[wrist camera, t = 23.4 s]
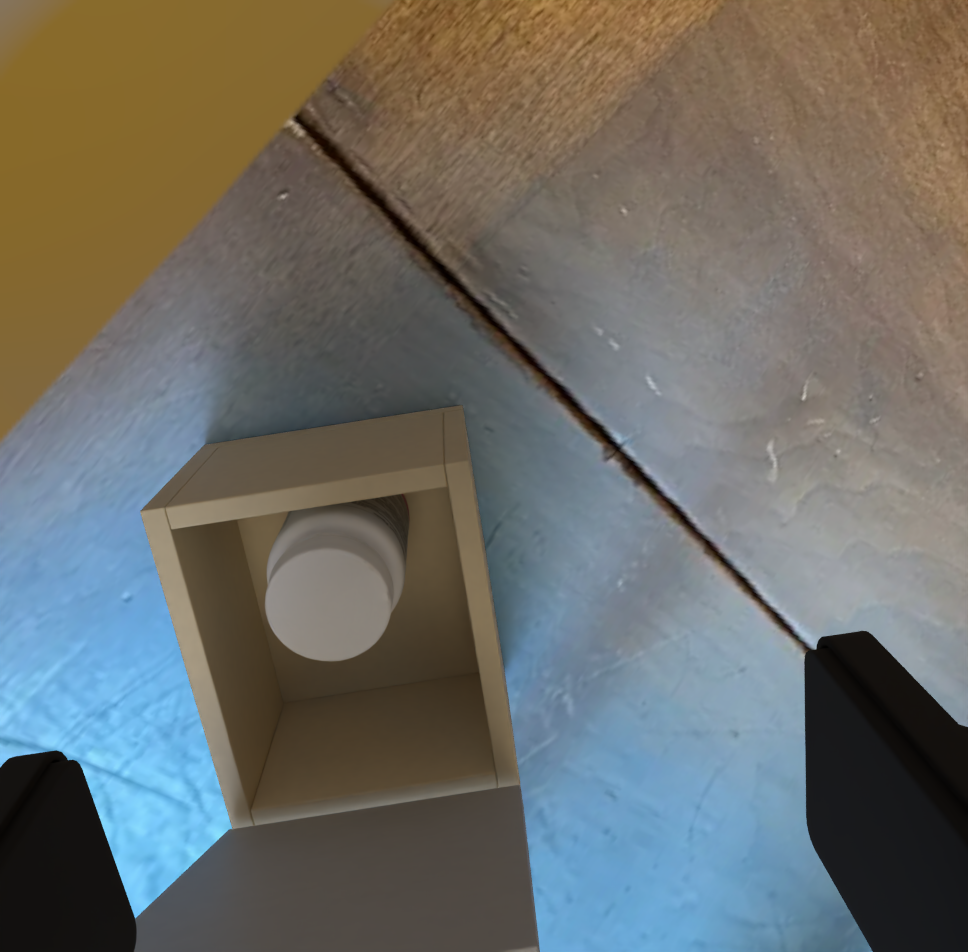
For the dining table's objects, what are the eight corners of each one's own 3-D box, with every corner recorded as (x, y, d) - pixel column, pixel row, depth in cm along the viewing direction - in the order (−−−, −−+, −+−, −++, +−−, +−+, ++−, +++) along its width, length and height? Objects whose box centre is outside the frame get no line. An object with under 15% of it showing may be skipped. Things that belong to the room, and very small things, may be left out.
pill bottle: (342, 588, 36) (314, 699, 28) (269, 502, 34) (217, 592, 26) (434, 526, 35) (432, 621, 27) (363, 435, 34) (339, 508, 26)
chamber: (203, 444, 34) (139, 510, 27) (462, 404, 34) (468, 460, 27) (272, 710, 38) (232, 831, 31) (505, 674, 38) (520, 787, 31)
